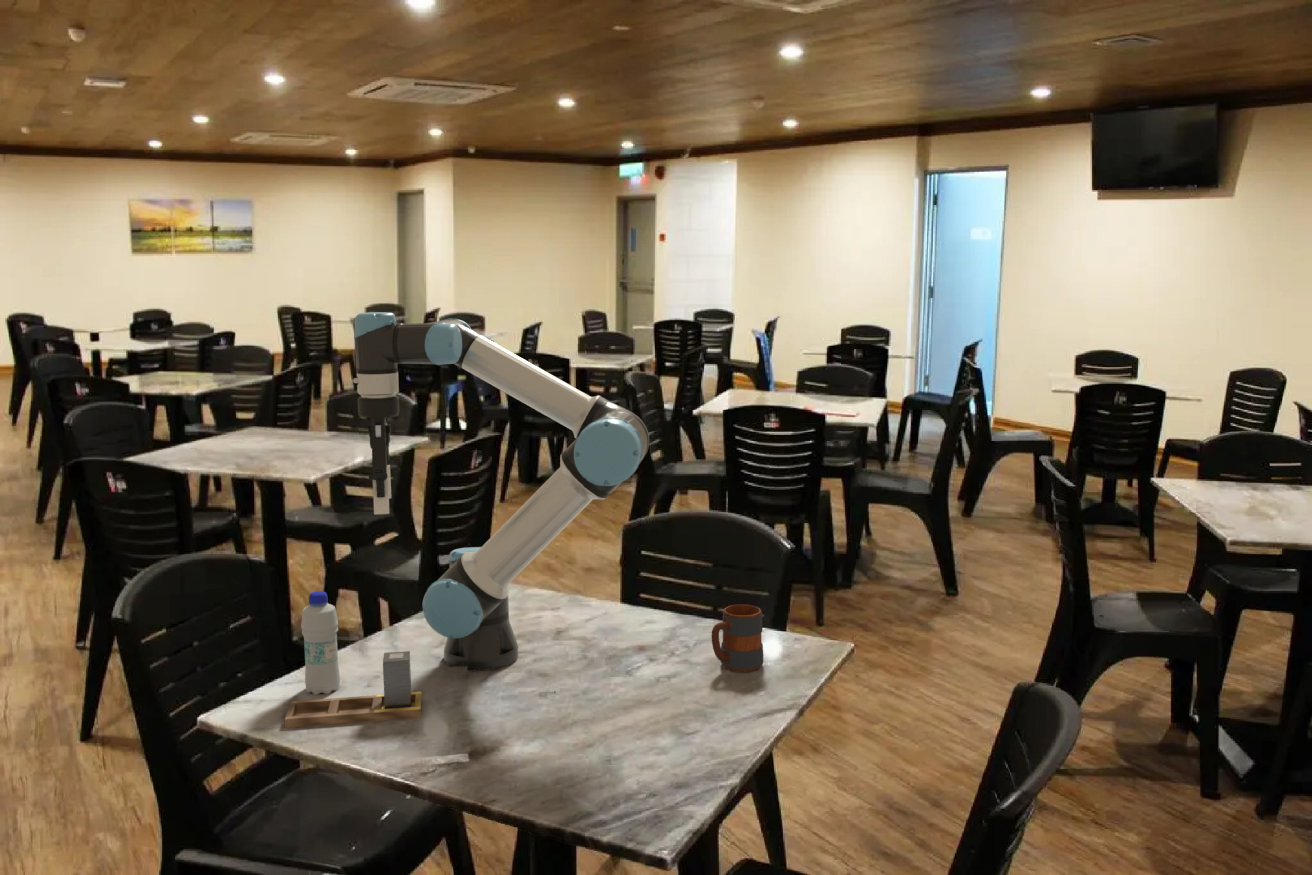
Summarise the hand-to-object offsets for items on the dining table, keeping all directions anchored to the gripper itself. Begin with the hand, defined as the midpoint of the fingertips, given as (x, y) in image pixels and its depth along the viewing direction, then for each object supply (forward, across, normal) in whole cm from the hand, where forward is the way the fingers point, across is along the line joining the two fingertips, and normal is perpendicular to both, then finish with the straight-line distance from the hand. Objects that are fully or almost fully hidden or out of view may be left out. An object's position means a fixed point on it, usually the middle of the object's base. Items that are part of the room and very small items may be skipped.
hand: (383, 506), depth 211 cm
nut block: (+34, +18, +2) cm, 38 cm away
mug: (+35, +8, +68) cm, 77 cm away
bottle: (+35, +5, -12) cm, 37 cm away
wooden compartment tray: (+35, +18, -6) cm, 39 cm away
